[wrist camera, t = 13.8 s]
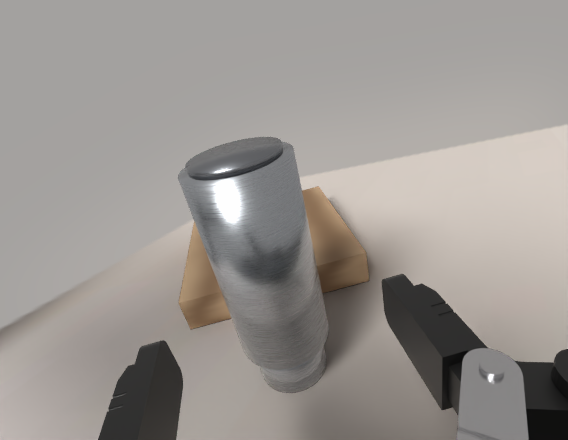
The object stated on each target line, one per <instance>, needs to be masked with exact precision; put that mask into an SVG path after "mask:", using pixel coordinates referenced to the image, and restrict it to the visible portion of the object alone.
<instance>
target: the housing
mask: <svg viewBox="0 0 568 440" xmlns="http://www.w3.org/2000/svg"><path fill="white" fill-rule="evenodd" d="M302 194H303V199H304V204H305V209H306V214H307V219H308V224H309V229H310V234H311V239H312V244H313V249H314V254H315V259H316V265H317V270H318V275H319V280H320V285H321V290H322V293H326V292H329V291H333V290H337V289H340V288H344V287H348V286H351V285H355V284H359V283H362V282H366V281H369V274H368V265H367V256H366V252H365V250H364V249H363V248H362V246H361V245H360V243H359V242H358V241H357V239H356V238H355V236H354V235H353V234H352V232H351V231H350V229H349V228H348V227H347V225H346V224H345V222H344V221H343V220H342V218H341V217H340V216H339V214H338V213H337V211H336V210H335V209H334V207H333V206H332V204H331V203H330V202H329V200H328V199H327V197H326V196H325V195H324V193H323V192H322V190H321V189H320V188H319V186H318V187H315V188H311V189H307V190H303V191H302ZM179 305H180V308H181V310H182V312H183V314H184V316H185V318H186V320H187V322H188V325H189V327H190V329H194V328H198V327H201V326H205V325H209V324H212V323H216V322H220V321H223V320H227V319H231V316H230V313H229V310H228V308H227V305H226V303H225V300H224V297H223V295H222V292H221V289H220V287H219V284H218V282H217V279H216V276H215V274H214V271H213V269H212V266H211V263H210V261H209V258H208V255H207V253H206V250H205V248H204V245H203V242H202V240H201V237H200V235H199V232H198V229H197V227H196V224H195V221H194V225H193V230H192V236H191V241H190V246H189V251H188V256H187V262H186V267H185V272H184V277H183V282H182V287H181V293H180V298H179Z"/></svg>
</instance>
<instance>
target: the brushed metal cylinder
mask: <svg viewBox="0 0 568 440" xmlns="http://www.w3.org/2000/svg"><path fill="white" fill-rule="evenodd" d="M178 179H179V182H180V185H181V187H182V190H183V193H184V195H185V198H186V200H187V203H188V206H189V208H190V211H191V214H192V216H193V219H194V221H195V224H196V227H197V229H198V232H199V235H200V237H201V240H202V242H203V245H204V248H205V250H206V253H207V255H208V258H209V261H210V263H211V266H212V269H213V271H214V274H215V276H216V279H217V282H218V284H219V287H220V289H221V292H222V295H223V297H224V300H225V303H226V305H227V308H228V310H229V313H230V316H231V318H232V321H233V323H234V326H235V329H236V331H237V334H238V337H239V339H240V342H241V344H242V347H243V350H244V352H245V354H246V356H247V357H248V358H249V359H250V360H251V361H252V362H253V363H255V364H256V365H258V366H260V368H261V371H262V374H263V377H264V379H265V381H266V382H267V383H268V385H270V386H271V387H272V388H273V389H275V390H277V391H280V392H285V393H296V392H300V391H303V390H306V389H308V388H309V387H311V386H313V385H314V384H315V383H316V382H317V381H318V380H319V379H320V378H321V376H322V375H323V373H324V370H325V367H326V354H325V350H324V344H325V342H326V339H327V336H328V331H329V326H328V320H327V315H326V310H325V305H324V300H323V295H322V290H321V285H320V280H319V275H318V270H317V265H316V259H315V254H314V249H313V244H312V239H311V234H310V229H309V224H308V219H307V214H306V209H305V204H304V199H303V194H302V189H301V184H300V179H299V174H298V169H297V164H296V159H295V154H294V150H293V146H292V145H290V144H288V143H285V142H281V140H280V139H278V138H273V137H258V138H248V139H243V140H238V141H234V142H230V143H226V144H223V145H220V146H217V147H215V148H212V149H209V150H207V151H204V152H202V153H200V154H198V155H196V156H194V157H193V158H192V159H190V160H189V161H188V162H187V163H186V167H185V168H184V169H183V170H182V171H181V172H180V173H179V175H178Z"/></svg>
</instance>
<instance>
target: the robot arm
mask: <svg viewBox="0 0 568 440" xmlns="http://www.w3.org/2000/svg"><path fill="white" fill-rule="evenodd" d="M382 290H383V301H384V311H385V315H386V318H387V321H388V324H389V326H390V328H391V329H392V331H393V332H394V334H395V336H396V337H397V339H398V340H399V342H400V344H401V345H402V347H403V349H404V350H405V352H406V353H407V355H408V357H409V358H410V360H411V361H412V363H413V365H414V366H415V368H416V369H417V371H418V373H419V374H420V376H421V378H422V379H423V381H424V382H425V384H426V386H427V387H428V389H429V390H430V392H431V394H432V395H433V397H434V398H435V400H436V402H437V403H438V405H439V407H440V408H441V410H444V409H448V408H451V407H453V408H454V410H455V411H456V413H457V414H458V428H457V437H456V440H568V349H565V350H562V351H560V352H559V353H558V354H557V355H556V357H555V359H554V363H548V362H518V361H514V360H513V359H511V358H510V357H509V356H507V355H506V354H504V353H502V352H499V351H497V350H493V349H489V348H487V347H486V346H485V345H484V343H483V342H482V341H481V340H480V339H479V338H478V337H477V336H476V335H475V334H474V333H473V331H472V330H471V329H470V328H469V327H468V326H467V325H466V324H465V323H464V322H463V321H462V319H461V318H460V317H459V316H458V315H457V314H456V313H454V312H453V310H452V309H451V307H450V306H449V305H448V304H446V303H445V301H444V300H443V299H442V298H441V296H440V295H439V294H438V293H437V292H436V291H434V290H433V289H431V288H429V287H427V286H425V285H423V284H419V285H415V286H414V285H413V284H412V283H411V282H410V281H409V280H408V278H407V277H406V276H405V275H404V274H400V275H396V276H393V277H389V278H386V279H383V280H382ZM182 389H183V378H182V373H181V370H180V367H179V365H178V364H177V362H176V360H175V358H174V356H173V354H172V352H171V350H170V349H169V347H168V345H167V343H166V342H165V341H159V342H155V343H152V344H148V345H145V346H142V347H141V348H140V349H139V352H138V356H137V359H136V362H135V364H134V365H130V366H128V367H127V368H126V370H125V371H124V373H123V374H122V376H121V377H120V378H119V380H118V382H117V385H116V388H115V391H114V394H113V399H112V400H111V403H110V405H109V408H108V409H109V412H107V414H106V417H105V420H104V423H103V426H102V429H101V432H100V435H99V438H98V440H176V436H177V428H178V420H179V413H180V405H181V397H182Z"/></svg>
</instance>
